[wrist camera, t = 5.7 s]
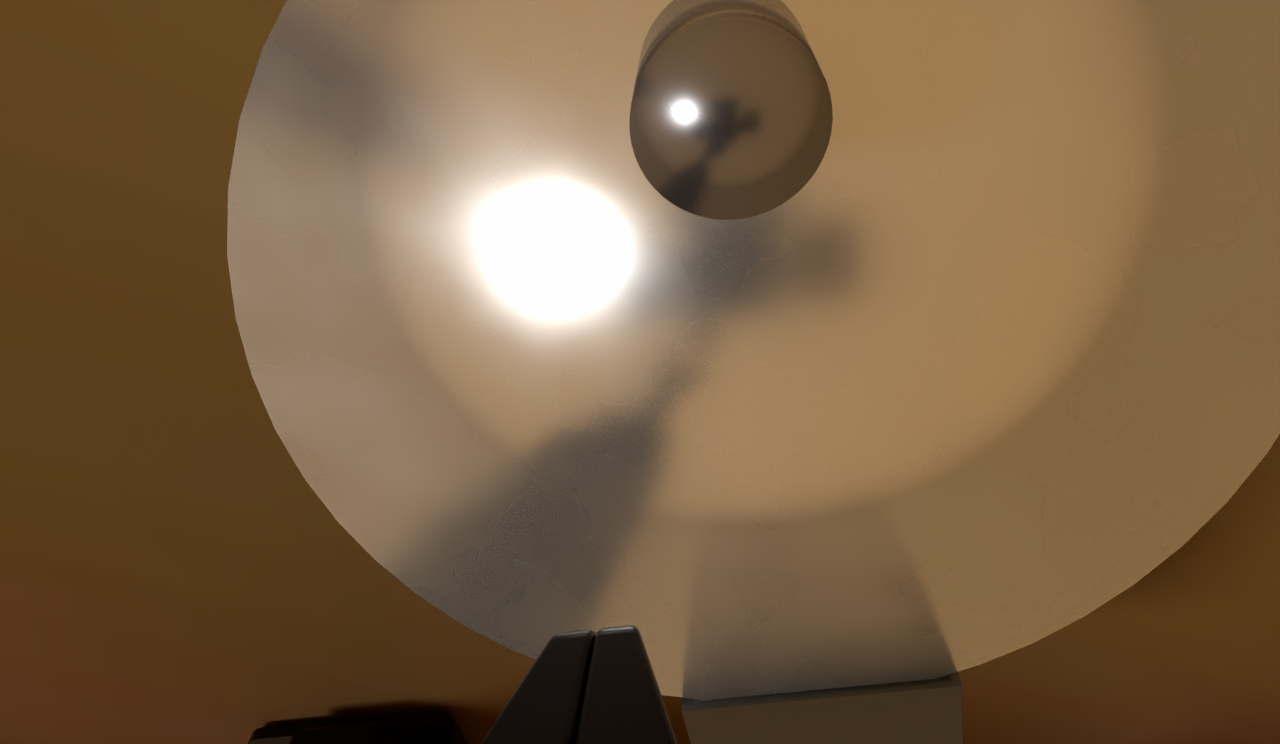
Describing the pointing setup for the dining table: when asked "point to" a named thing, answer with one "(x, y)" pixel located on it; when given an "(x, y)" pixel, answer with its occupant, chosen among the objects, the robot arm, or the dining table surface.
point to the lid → (768, 320)
